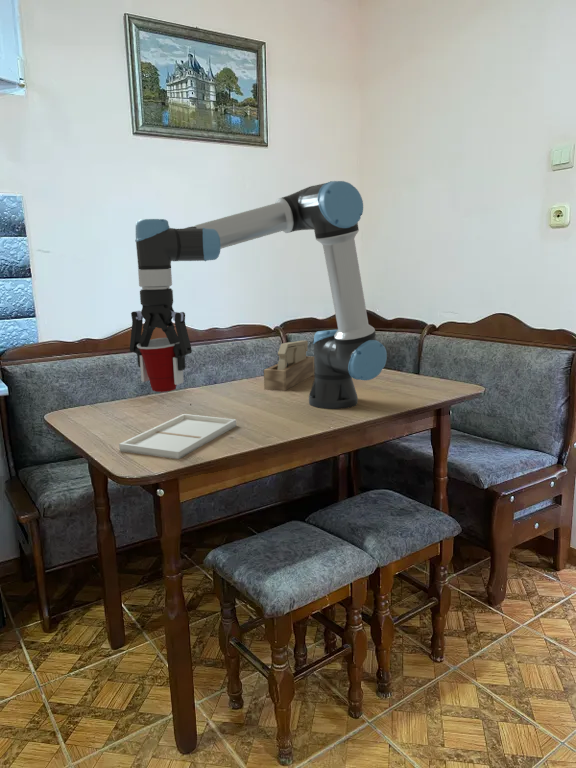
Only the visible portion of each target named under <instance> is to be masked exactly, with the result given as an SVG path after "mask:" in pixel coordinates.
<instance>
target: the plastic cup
mask: <svg viewBox="0 0 576 768" xmlns="http://www.w3.org/2000/svg"><path fill="white" fill-rule="evenodd" d="M175 344H179V342H177V343H175ZM175 344H170V342H169V340H168V338H167V337H158V338H153V339H150V342H149V345H148V347H141V344H140V343H139V344H137V348H139V350H140V352H141V354H142V357H143V359H144V363H145V367H146V370H147V374H148V377H149V384H150V388H151V390H152V391H153V392H158V393H164V392H165V393H166V392H167V393H168V392H172V391H175V390H176V389H177V386H178V385H175V383H174V367H173V357H174V356H176V355H175V353H174V351H173V347H174V346H175Z"/></svg>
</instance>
